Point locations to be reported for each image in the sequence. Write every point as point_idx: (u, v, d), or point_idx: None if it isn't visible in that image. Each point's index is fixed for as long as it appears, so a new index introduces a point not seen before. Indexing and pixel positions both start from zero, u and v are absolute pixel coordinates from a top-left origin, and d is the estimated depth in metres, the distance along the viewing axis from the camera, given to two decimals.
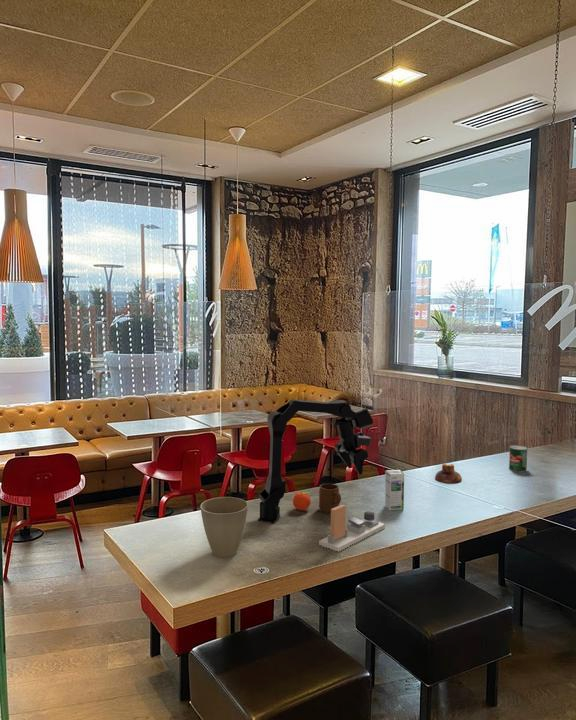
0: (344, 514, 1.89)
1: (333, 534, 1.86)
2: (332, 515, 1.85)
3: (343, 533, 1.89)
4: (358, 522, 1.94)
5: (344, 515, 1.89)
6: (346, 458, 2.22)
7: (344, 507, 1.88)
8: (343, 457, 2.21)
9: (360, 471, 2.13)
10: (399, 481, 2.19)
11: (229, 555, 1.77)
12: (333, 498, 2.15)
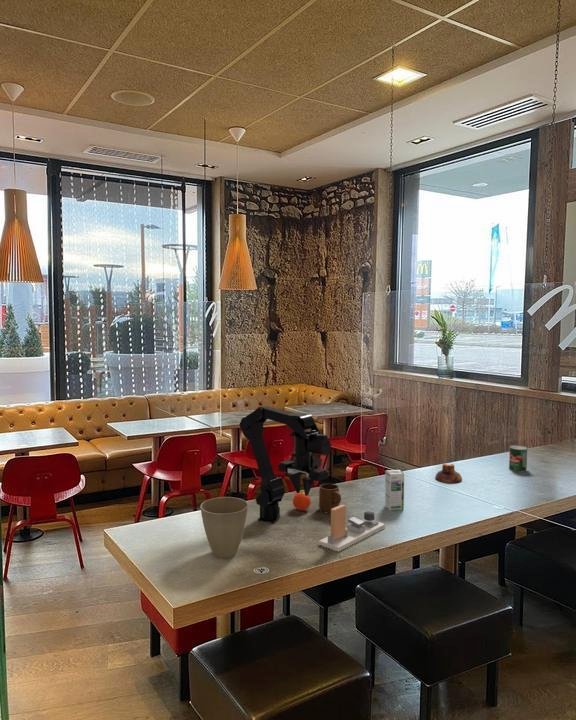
0: (344, 514, 1.89)
1: (333, 534, 1.86)
2: (332, 515, 1.85)
3: (343, 533, 1.89)
4: (358, 522, 1.94)
5: (344, 515, 1.89)
6: (296, 481, 1.99)
7: (344, 507, 1.88)
8: (294, 480, 1.98)
9: (307, 492, 1.96)
10: (399, 481, 2.19)
11: (229, 555, 1.77)
12: (333, 498, 2.15)
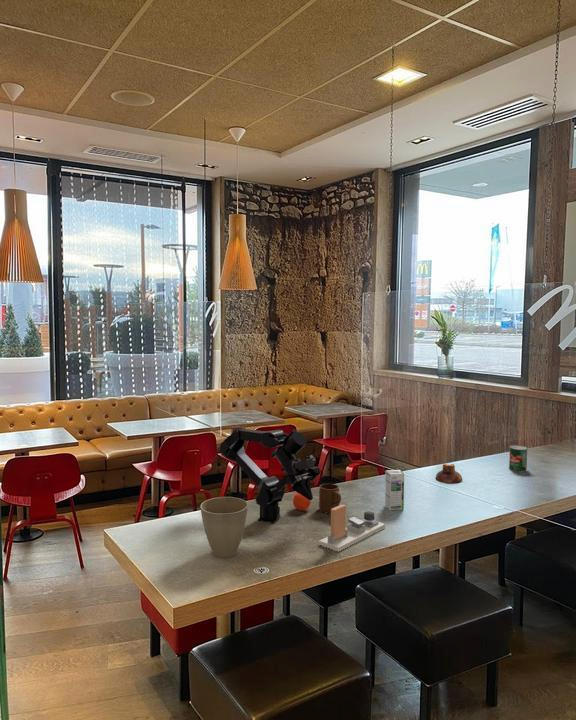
0: (344, 514, 1.89)
1: (333, 534, 1.86)
2: (332, 515, 1.85)
3: (343, 533, 1.89)
4: (358, 522, 1.94)
5: (344, 515, 1.89)
6: None
7: (344, 507, 1.88)
8: None
9: (307, 496, 1.95)
10: (399, 481, 2.19)
11: (229, 555, 1.77)
12: (333, 498, 2.15)
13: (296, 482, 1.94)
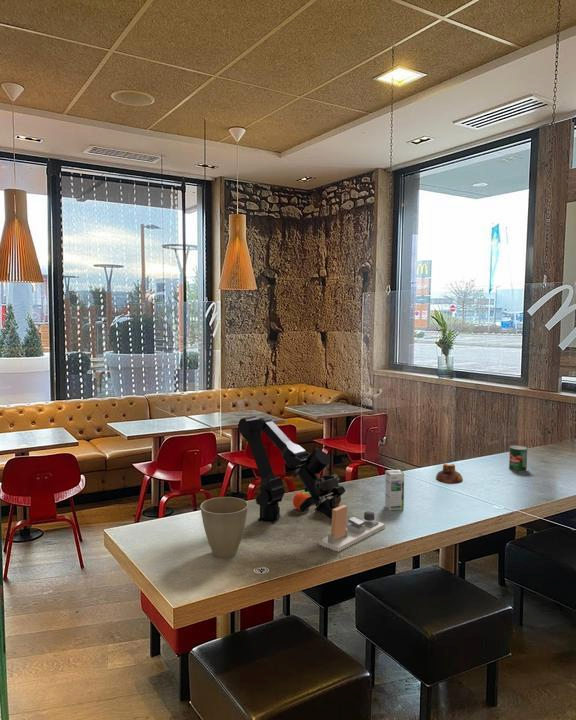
0: (345, 514, 1.88)
1: (333, 534, 1.85)
2: (333, 515, 1.85)
3: (343, 533, 1.89)
4: (358, 522, 1.94)
5: (345, 515, 1.88)
6: None
7: (345, 508, 1.88)
8: None
9: None
10: (399, 481, 2.19)
11: (229, 555, 1.77)
12: None
13: (320, 503, 1.88)
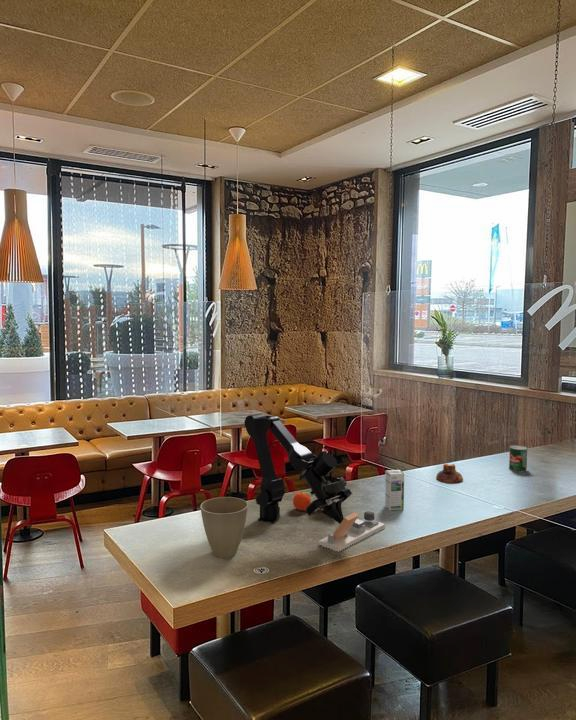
0: (353, 522, 1.86)
1: (335, 536, 1.85)
2: (343, 522, 1.82)
3: (344, 535, 1.89)
4: (358, 522, 1.94)
5: (353, 522, 1.86)
6: None
7: (357, 517, 1.85)
8: None
9: (339, 520, 1.86)
10: (399, 481, 2.19)
11: (229, 555, 1.77)
12: None
13: (327, 506, 1.86)
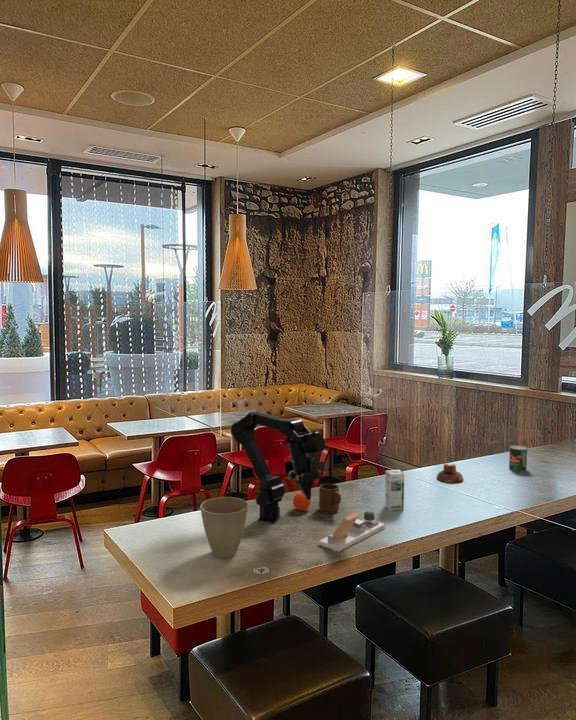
0: (353, 522, 1.86)
1: (335, 536, 1.85)
2: (343, 522, 1.82)
3: (344, 535, 1.89)
4: (358, 522, 1.94)
5: (353, 522, 1.86)
6: None
7: (357, 517, 1.85)
8: None
9: (308, 495, 1.97)
10: (399, 481, 2.19)
11: (229, 555, 1.77)
12: (333, 498, 2.15)
13: None
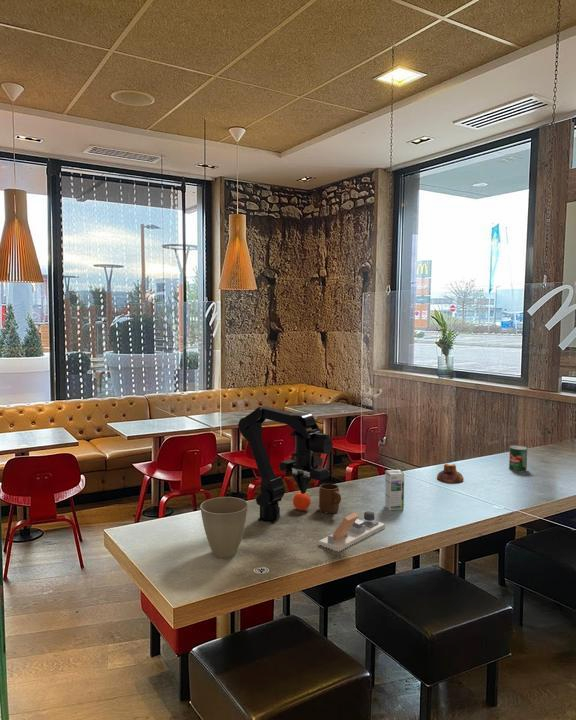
0: (353, 522, 1.86)
1: (335, 536, 1.85)
2: (343, 522, 1.82)
3: (344, 535, 1.89)
4: (358, 522, 1.94)
5: (353, 522, 1.86)
6: None
7: (357, 517, 1.85)
8: (299, 480, 1.98)
9: (305, 490, 1.99)
10: (399, 481, 2.19)
11: (229, 555, 1.77)
12: (333, 498, 2.15)
13: None
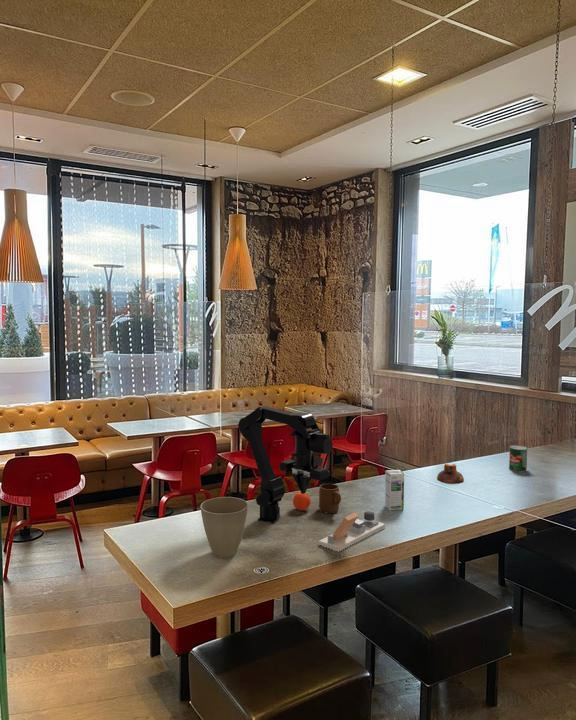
0: (353, 522, 1.86)
1: (335, 536, 1.85)
2: (343, 522, 1.82)
3: (344, 535, 1.89)
4: (358, 522, 1.94)
5: (353, 522, 1.86)
6: None
7: (357, 517, 1.85)
8: (299, 480, 1.98)
9: (305, 490, 1.99)
10: (399, 481, 2.19)
11: (229, 555, 1.77)
12: (333, 498, 2.15)
13: None
